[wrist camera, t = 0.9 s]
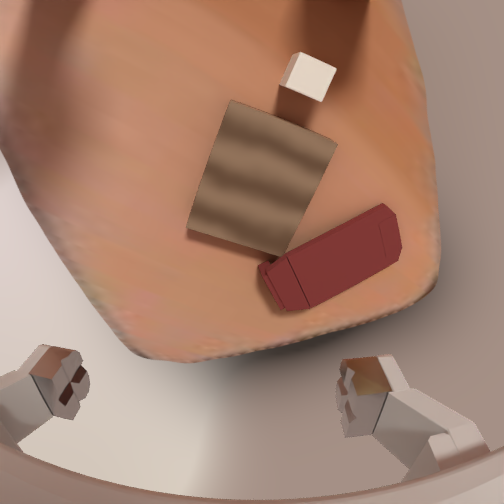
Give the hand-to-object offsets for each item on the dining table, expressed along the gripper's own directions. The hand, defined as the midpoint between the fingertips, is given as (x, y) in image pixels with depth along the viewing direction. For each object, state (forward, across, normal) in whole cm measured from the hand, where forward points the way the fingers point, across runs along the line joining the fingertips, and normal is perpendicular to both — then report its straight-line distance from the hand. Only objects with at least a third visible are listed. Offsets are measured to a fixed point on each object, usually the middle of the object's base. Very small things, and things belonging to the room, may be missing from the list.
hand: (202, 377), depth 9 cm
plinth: (+41, -2, 0) cm, 41 cm away
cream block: (+39, -8, -16) cm, 43 cm away
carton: (+45, -15, +13) cm, 49 cm away
